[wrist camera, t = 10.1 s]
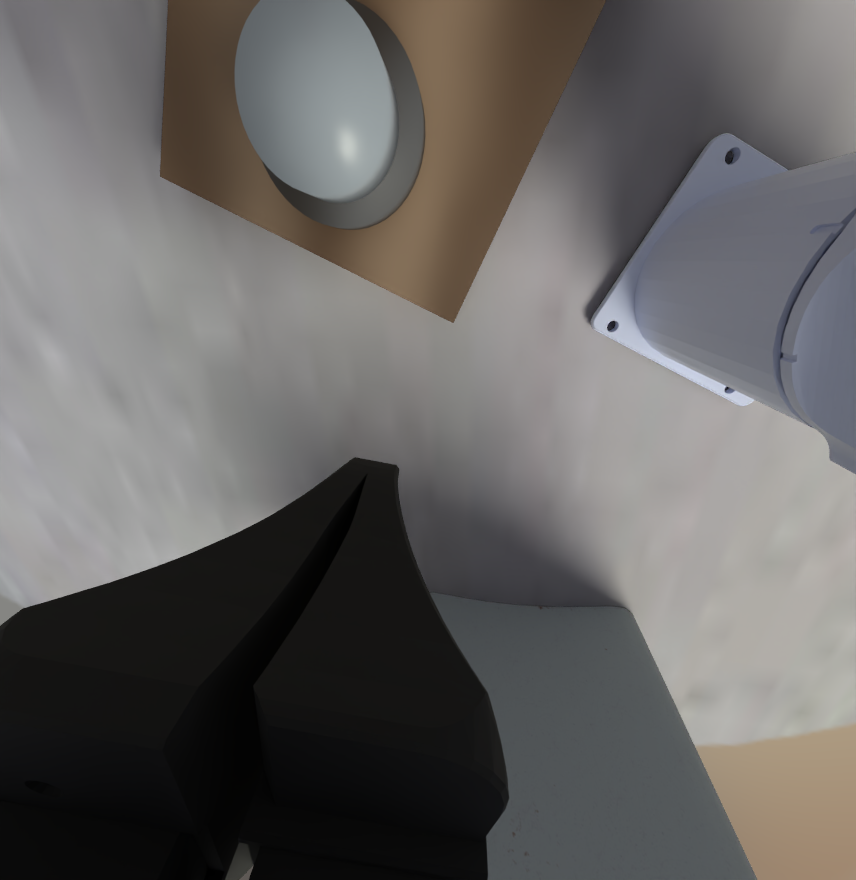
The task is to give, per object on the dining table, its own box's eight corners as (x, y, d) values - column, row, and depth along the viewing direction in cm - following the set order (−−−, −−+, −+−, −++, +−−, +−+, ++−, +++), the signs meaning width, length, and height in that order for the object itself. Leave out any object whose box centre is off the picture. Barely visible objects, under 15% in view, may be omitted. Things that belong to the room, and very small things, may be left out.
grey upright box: (412, 626, 30) (255, 1692, 8) (410, 590, 27) (182, 1925, 5) (623, 645, 28) (1205, 2078, 6) (638, 608, 26) (1637, 2631, 4)
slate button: (421, 72, 11) (412, 38, 10) (372, 226, 14) (358, 221, 12) (284, -7, 11) (249, -59, 9) (256, 166, 13) (224, 152, 11)
